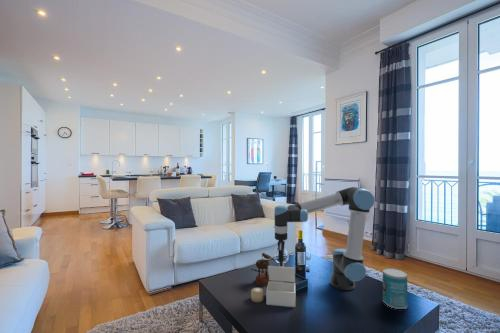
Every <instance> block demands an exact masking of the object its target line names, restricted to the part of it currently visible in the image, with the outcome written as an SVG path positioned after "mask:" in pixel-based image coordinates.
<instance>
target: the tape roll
mask: <svg viewBox="0 0 500 333" xmlns="http://www.w3.org/2000/svg"><path fill="white" fill-rule="evenodd" d="M250 290H251V291H250V293H251V295H250V299H251V302H253V303H261V302H263V301H264V290H263V288H261V287H253V288H252V289H250Z"/></svg>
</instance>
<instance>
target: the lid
mask: <svg viewBox="0 0 500 333" xmlns="http://www.w3.org/2000/svg"><path fill="white" fill-rule="evenodd" d="M267 271H268V274H269V280H271V281H275V282H288V283H296V267H294V266H292V267H291V266H284V267H283V266H279V265H278V266H277V265H269V266H268V269H267Z"/></svg>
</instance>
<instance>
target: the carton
mask: <svg viewBox="0 0 500 333" xmlns="http://www.w3.org/2000/svg"><path fill="white" fill-rule="evenodd" d="M265 292H266V294H265V295H266V296H265V297H266V299H265V300H266V301H265V303H266V305H267V306H277V307H286V308H296V282H288V281H275V280H271V281H269V282H268V286H266V291H265Z"/></svg>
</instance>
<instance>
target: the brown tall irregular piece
mask: <svg viewBox="0 0 500 333" xmlns="http://www.w3.org/2000/svg"><path fill="white" fill-rule="evenodd" d="M261 257H262V258H261V259H258V260H256V262H255V266H256V268H258V270H257V269H254V268H251V269H250V270H251V271H255V272H257V273H258V274H257V275H256V277H255V284H257V285H258V286H261V287H267V286H268V282H269V281H272V280H269V274H268V266H271V260H274V257H272V256H270V254H266V253H265V252H262V253H261ZM264 270H265V271H264Z"/></svg>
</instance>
